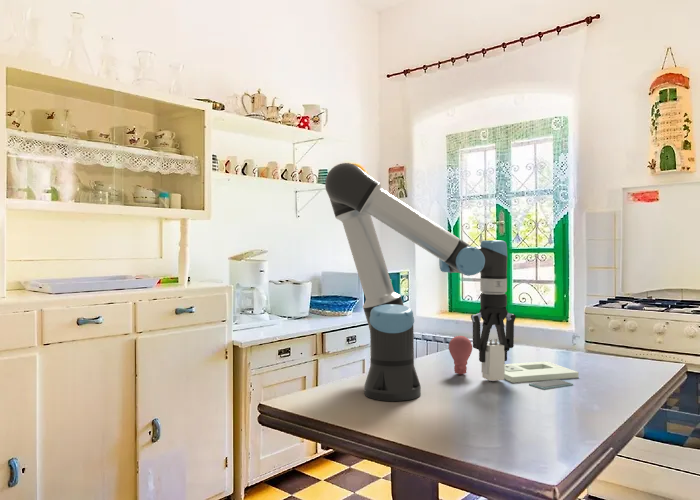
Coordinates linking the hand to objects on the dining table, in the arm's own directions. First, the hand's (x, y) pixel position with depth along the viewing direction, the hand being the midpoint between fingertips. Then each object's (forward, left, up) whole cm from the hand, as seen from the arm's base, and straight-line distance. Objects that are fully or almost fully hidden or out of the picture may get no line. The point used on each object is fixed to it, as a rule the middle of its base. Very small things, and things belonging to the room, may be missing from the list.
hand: (493, 372), depth 161 cm
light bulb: (-6, +10, -3) cm, 12 cm away
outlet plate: (+15, +5, -2) cm, 16 cm away
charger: (0, 0, -2) cm, 2 cm away
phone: (+13, -9, -3) cm, 16 cm away
